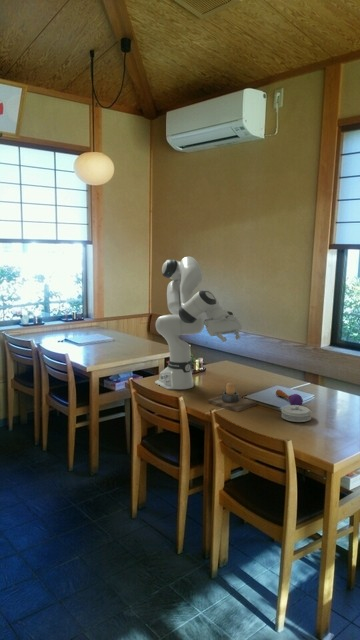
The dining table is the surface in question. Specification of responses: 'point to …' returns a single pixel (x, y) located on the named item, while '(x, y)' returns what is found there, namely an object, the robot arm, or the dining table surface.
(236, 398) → the grey stone bowl
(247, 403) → the board
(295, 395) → the kendama
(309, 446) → the dining table surface
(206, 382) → the dining table surface
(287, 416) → the lid
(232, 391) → the plug
